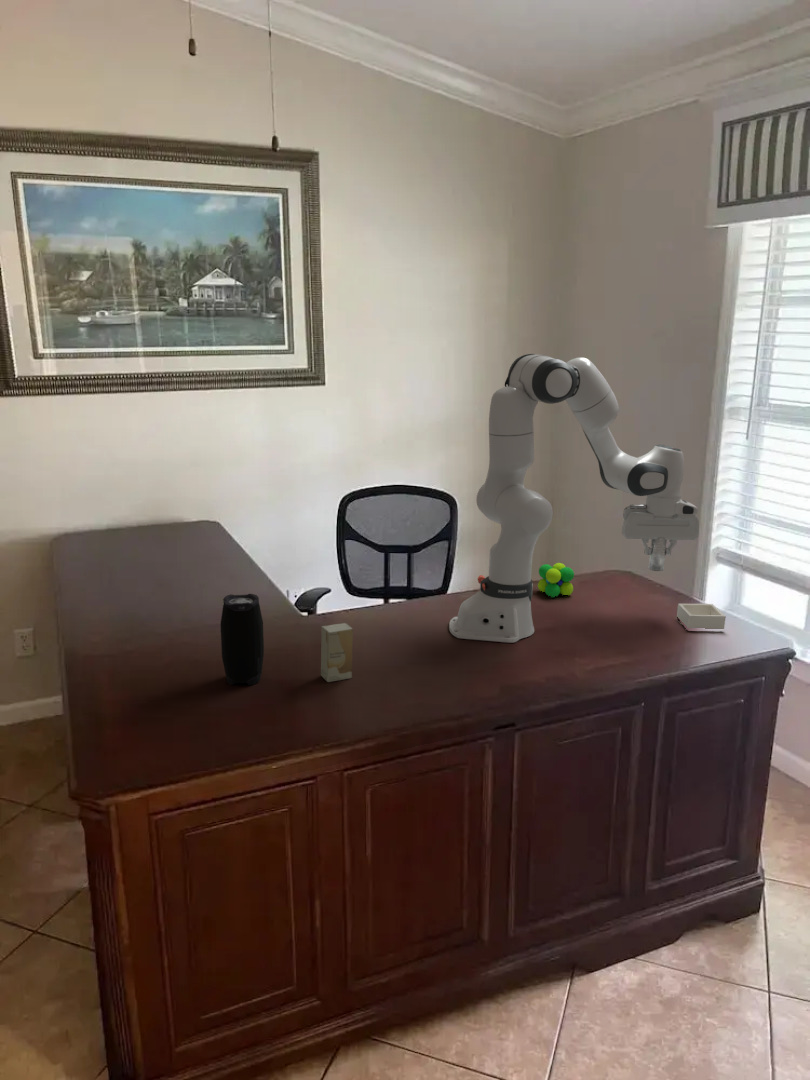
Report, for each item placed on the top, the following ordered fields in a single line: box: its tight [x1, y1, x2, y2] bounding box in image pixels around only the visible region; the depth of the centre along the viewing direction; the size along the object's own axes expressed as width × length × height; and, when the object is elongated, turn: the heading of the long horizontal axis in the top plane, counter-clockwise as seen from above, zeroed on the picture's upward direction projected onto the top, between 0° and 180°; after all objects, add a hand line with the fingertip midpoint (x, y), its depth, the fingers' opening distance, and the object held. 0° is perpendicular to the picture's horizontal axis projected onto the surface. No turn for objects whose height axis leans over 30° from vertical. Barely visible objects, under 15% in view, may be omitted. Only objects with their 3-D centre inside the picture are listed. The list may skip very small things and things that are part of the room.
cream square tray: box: [676, 603, 726, 630], centre depth 233 cm, size 10×10×4 cm
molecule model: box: [537, 562, 575, 598], centre depth 257 cm, size 9×9×9 cm
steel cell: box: [647, 537, 668, 572], centre depth 236 cm, size 4×4×10 cm
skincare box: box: [320, 622, 354, 683], centre depth 197 cm, size 6×4×12 cm
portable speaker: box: [220, 593, 265, 686], centre depth 193 cm, size 9×9×20 cm
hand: (657, 554), depth 236 cm, fingers closed on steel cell, 4 cm apart
